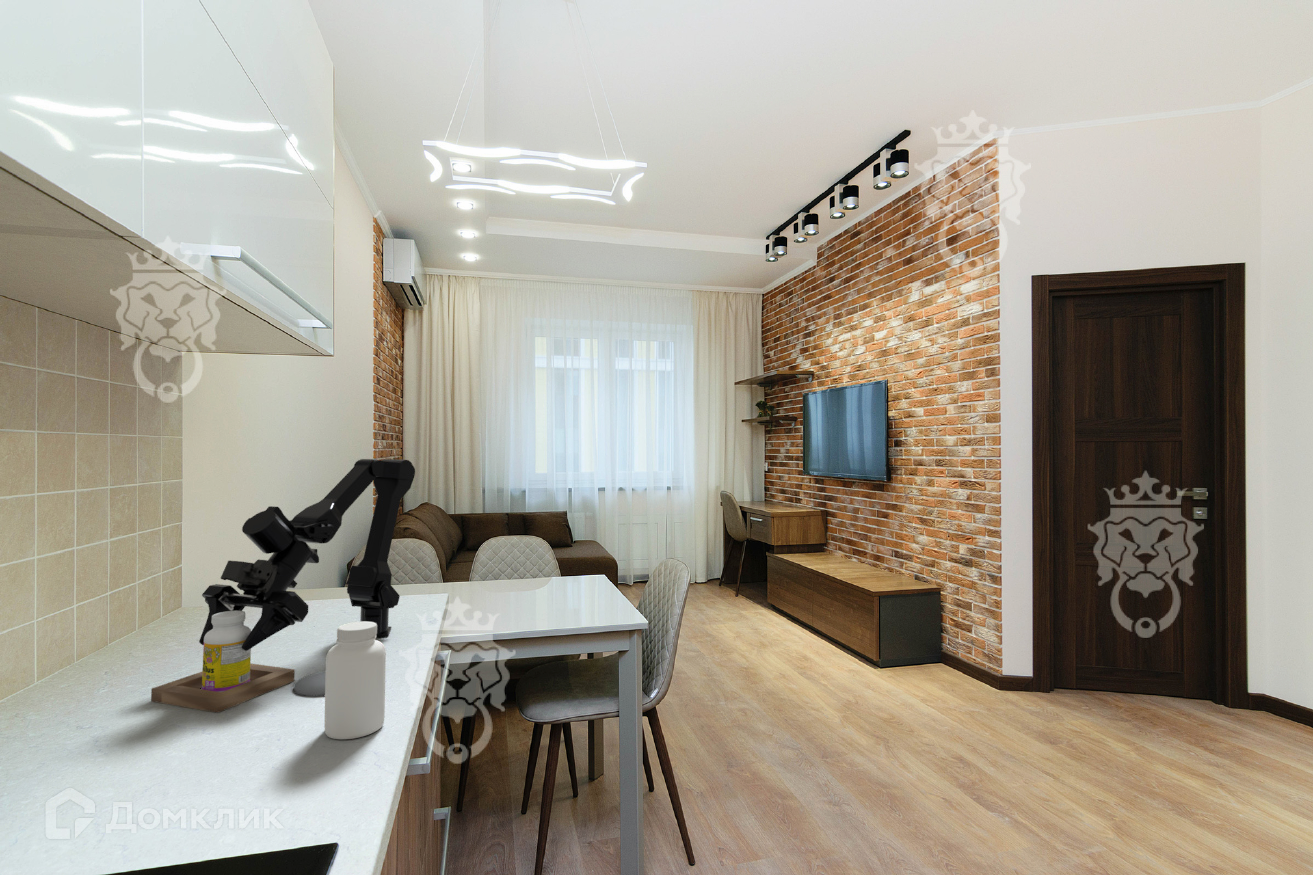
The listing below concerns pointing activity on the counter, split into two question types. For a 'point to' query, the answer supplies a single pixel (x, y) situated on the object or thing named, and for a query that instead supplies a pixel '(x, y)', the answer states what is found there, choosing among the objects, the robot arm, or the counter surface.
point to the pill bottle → (355, 682)
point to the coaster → (311, 685)
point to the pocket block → (193, 697)
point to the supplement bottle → (226, 652)
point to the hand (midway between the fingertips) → (222, 646)
